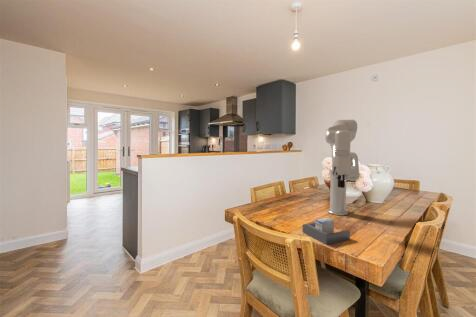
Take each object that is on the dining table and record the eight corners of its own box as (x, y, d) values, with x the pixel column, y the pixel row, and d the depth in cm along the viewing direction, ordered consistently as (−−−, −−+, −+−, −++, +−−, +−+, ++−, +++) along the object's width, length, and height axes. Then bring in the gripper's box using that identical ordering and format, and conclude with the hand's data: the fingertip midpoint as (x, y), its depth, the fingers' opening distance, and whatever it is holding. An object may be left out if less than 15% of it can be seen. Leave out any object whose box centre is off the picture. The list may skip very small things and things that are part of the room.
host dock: (324, 227, 123) (324, 219, 122) (349, 239, 108) (350, 229, 108) (302, 232, 116) (302, 223, 116) (326, 244, 102) (326, 234, 102)
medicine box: (326, 234, 114) (327, 217, 114) (333, 237, 110) (334, 219, 110) (314, 236, 111) (315, 219, 110) (321, 240, 107) (322, 222, 106)
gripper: (345, 152, 128) (344, 184, 130) (326, 153, 121) (325, 187, 123) (357, 153, 121) (356, 187, 123) (338, 154, 114) (337, 190, 116)
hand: (341, 187), depth 123 cm, fingers closed
